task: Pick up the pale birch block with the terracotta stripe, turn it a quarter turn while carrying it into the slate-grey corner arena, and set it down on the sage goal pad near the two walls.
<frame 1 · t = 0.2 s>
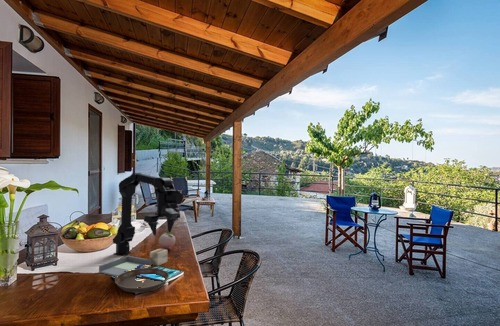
hand: (162, 233, 153), 14 cm above the table, fingers open, 9 cm apart
birch block: (158, 263, 151), on the table
plant saucer: (142, 285, 125), on the table
corner arena: (126, 269, 141), on the table
decorative fruit: (166, 249, 175), on the table
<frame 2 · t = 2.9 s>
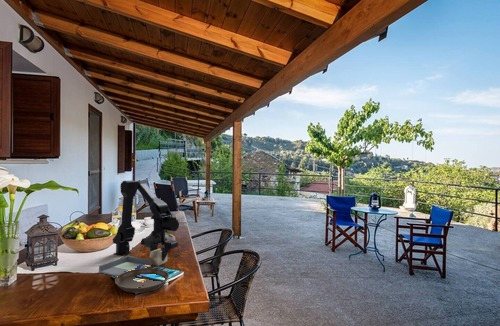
hand: (158, 260, 151), 1 cm above the table, fingers closed on birch block, 5 cm apart
birch block: (158, 262, 151), on the table, touching gripper
everything else where it was.
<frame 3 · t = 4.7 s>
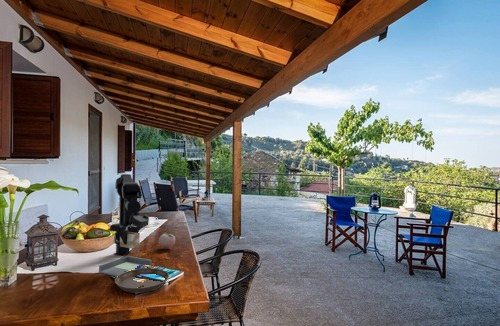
hand: (129, 243, 144), 11 cm above the table, fingers closed on birch block, 5 cm apart
birch block: (129, 246, 144), point 10 cm above the table, touching gripper
everything else where it was.
when the fingers open (4 cm above the table, at t = 6.5 s): birch block drops 2 cm, resting on corner arena.
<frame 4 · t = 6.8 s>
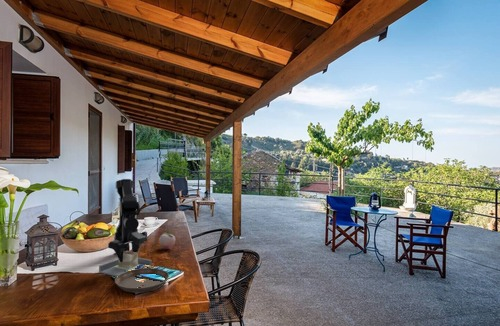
hand: (128, 259, 144), 4 cm above the table, fingers open, 8 cm apart
birch block: (128, 265, 144), point 1 cm above the table, touching corner arena
everything else where it was.
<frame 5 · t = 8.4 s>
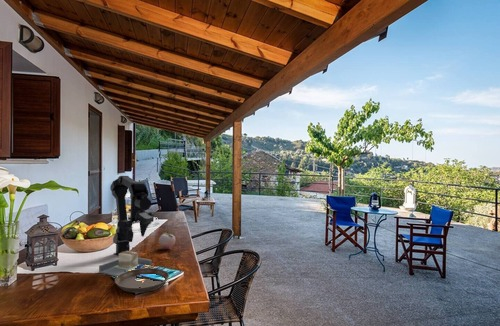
hand: (135, 238, 152), 12 cm above the table, fingers open, 9 cm apart
nothing on the table moved.
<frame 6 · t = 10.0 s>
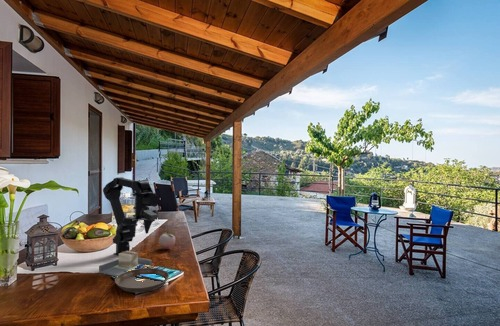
hand: (140, 235, 157), 12 cm above the table, fingers open, 9 cm apart
nothing on the table moved.
at the end: birch block 0.0 cm from the target spot on the corner arena, point 0.8 cm above the corner arena's base; birch block tilted 0°; the gripper is holding nothing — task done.
